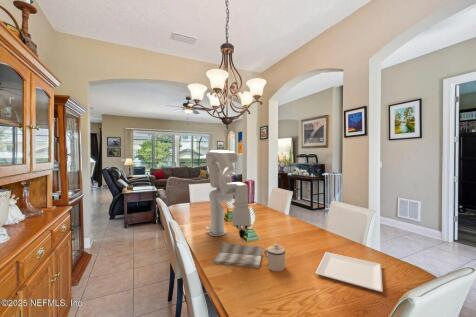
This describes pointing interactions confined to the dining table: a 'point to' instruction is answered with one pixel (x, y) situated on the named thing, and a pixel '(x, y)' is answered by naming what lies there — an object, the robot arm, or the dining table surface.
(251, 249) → the folded checkered cloth
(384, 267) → the dining table surface
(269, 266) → the teacup with lid
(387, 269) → the dining table surface
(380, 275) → the plate
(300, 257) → the dining table surface
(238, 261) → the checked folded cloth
